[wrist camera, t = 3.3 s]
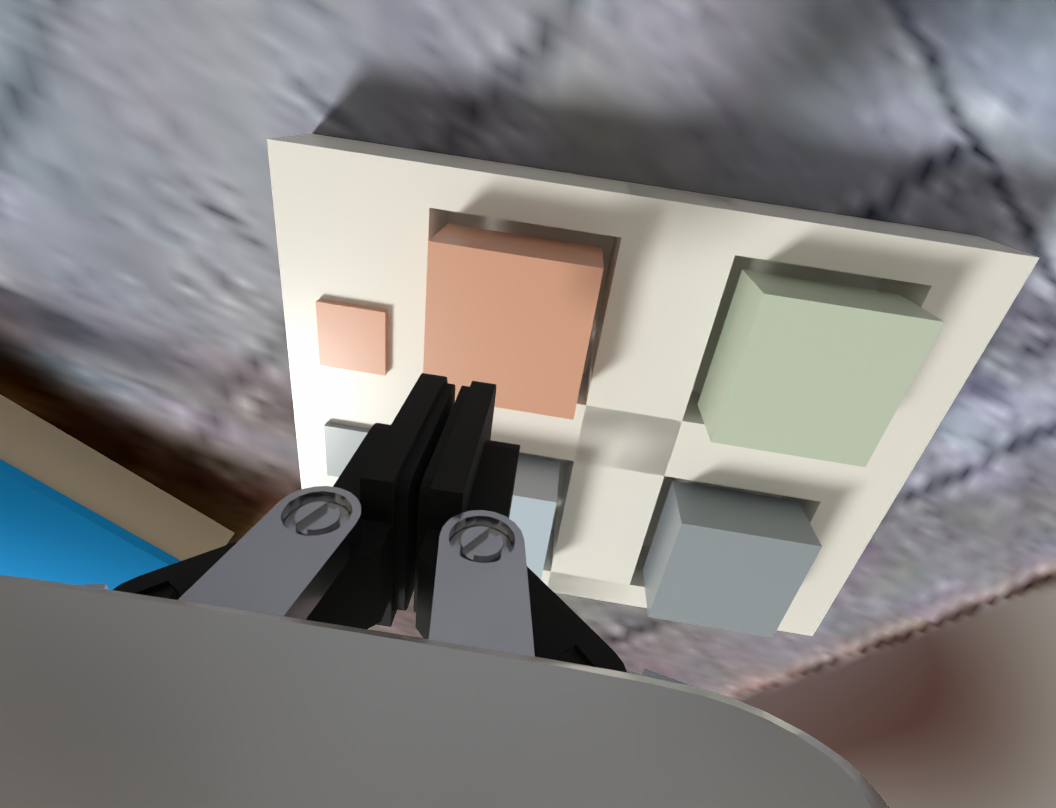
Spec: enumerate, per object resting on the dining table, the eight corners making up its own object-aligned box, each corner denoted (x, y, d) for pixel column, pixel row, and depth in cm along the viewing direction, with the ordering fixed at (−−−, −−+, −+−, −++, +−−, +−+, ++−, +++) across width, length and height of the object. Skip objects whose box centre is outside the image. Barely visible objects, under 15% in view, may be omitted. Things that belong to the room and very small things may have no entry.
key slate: (798, 501, 21) (822, 546, 19) (755, 588, 24) (772, 638, 22) (672, 480, 21) (681, 523, 19) (642, 569, 24) (648, 616, 22)
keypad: (975, 235, 18) (1047, 260, 16) (790, 584, 27) (814, 642, 24) (311, 133, 19) (261, 139, 16) (334, 507, 27) (304, 555, 24)
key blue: (559, 462, 22) (556, 502, 19) (542, 553, 24) (537, 598, 22) (436, 441, 22) (419, 479, 19) (430, 534, 24) (415, 577, 22)
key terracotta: (601, 247, 17) (603, 268, 15) (575, 384, 20) (573, 419, 18) (448, 223, 17) (427, 241, 15) (440, 363, 20) (422, 395, 18)
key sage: (899, 294, 17) (944, 322, 15) (835, 426, 20) (865, 467, 17) (742, 269, 17) (764, 293, 15) (697, 404, 20) (710, 442, 18)
